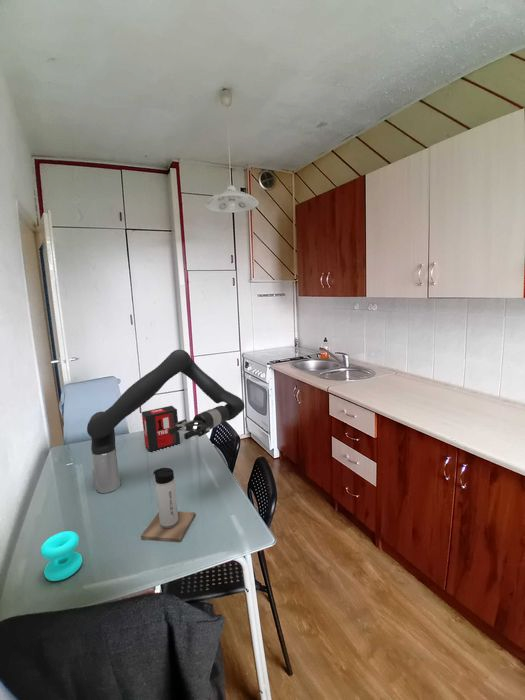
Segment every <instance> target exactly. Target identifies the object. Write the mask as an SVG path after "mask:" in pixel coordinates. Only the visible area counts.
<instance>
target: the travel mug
mask: <svg viewBox="0 0 525 700" xmlns="http://www.w3.org/2000/svg"><path fill="white" fill-rule="evenodd" d="M153 474H154V479H155V480H154V482H155V490H156V500H157V509H158V512H159V519H160V526H161V527H162V528H165V529H168V528H172V527H174V526H175V525H177V523H178V512H179V511H178V503H177V494H176V484H175V476H174V470H173V469H172V468H169V467H160V468H158V469H155V470H153ZM177 511H178V512H177Z"/></svg>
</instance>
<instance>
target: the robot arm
mask: <svg viewBox="0 0 525 700" xmlns="http://www.w3.org/2000/svg"><path fill="white" fill-rule="evenodd" d="M180 373H182V374H183V375H185V376H187V378H189V379H190V380H191V381H192V382H193V383H194V384H196V385H197V387H198V388H199V389H200V390H201V391H202V392H203V393H204V394H205V395H206V396H207V397H208V398H209V399H211V400H212V401H213V402H214V403H215V404H220V403H225V404H224V405H217V406H216V407H212V408H211V409H207V410H205V411H202V412H200V413H197V414H195V416H194V417H193V419H192V420H189V421H187V419H182V420H180V421H179V420H178V422H177V423H174V427H173V428H170V429H169V430H168V432H169V435H172V434H174V433H176V432H179V433H180V432H182V433H184V434H183V437H184V439H185V440H188V439H191V438H192V437H199V438H200V437H203V436H204V435H206V434H207V433H209V432H210V430H212V429H214V428H216V427H218V426H219V425H221V424H222V423H224V422H227V421H229V422H230V421H231V420H234V419H235V418H236V417H237V416H239V414H241V413H242V412H243V411H244V409H245V408H246V407H245V402H244V401H243V400H242V398H241V397H240V396H238V395H235V394H234V393H232V392H230V391H228V390H226V389H225V388H224V387H223V386H222V385H220V384H219V383H218V382H217V381H216V380H215V379H213V378H212V377H211V376H210V375H208V373H206V372H204V370H202V369H201V368H200V367H199V365H198V364H196V362H195V361H194V360H193V358H192V357H191V355H190V354H189V353H188V352H187V351H186V350H184V349H175V350H173V351H172V352H171V353H170V354H169V355H168V356H167V357H166V358H165V359H164V360H163V361H162V362H161V363H159V365H158V366H156V367H155V368H154V369H153V370H151V371H150V372H148V373H146V374H145V375H143V376H142V377H141V378H139V379H138V380H137V381H135V382H134V383H133V384H132V385H130V386H129V387H128V388H127V389H126V390H125V391H124V392H123V393H122V394H121V395H120V397H119V398H117V400H116V401H114V403H113V404H112V405H111V406H110V407H108V408H107V409H106V410H105V411H98V412H96V413H94V414H92V416H91V417H90V418H89V421H88V423H87V426H86V427H87V428H86V432H87V434H88V436H89V437H90V438H91V444H90V445H91V447H90V448H91V449H90V450H91V455H92V463H93V468H92V470H91V471H92V479H93V484H94V491H95V490H97V491H96V492H98V493H99V492H100V494H109V493H111V492H115V491H116V490H118V489H119V488H120V486H121V480H120V471H119V465H118V464H119V463H118V458H117V450H116V432H115V428H116V427H117V426H118V425H119V424H120V423H121V422H123V420H124V419H126V418H127V417H128V416H130V415H131V414H133V412H136V410H138V409H139V408H141V407H142V406H143V405H145V403H147V402H149V400H150V399H152V397H154V396H155V395H156V394H157V393H158V392H159V391H160V390H161V388H163V386H164V385H165V384H166V383H167V382H169V380H171V378H174V377H175V376H176V375H177V374H180Z"/></svg>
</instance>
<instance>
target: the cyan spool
mask: <svg viewBox="0 0 525 700" xmlns="http://www.w3.org/2000/svg"><path fill="white" fill-rule="evenodd" d="M79 542H80V537H79V534H78V533H76V532H75V531H71V530H66V531H61V532H58V533H55V534H54V535H52V536H50V537H48V539H46V540H45V542H43V544H42V545H41V548H40V555H41V557H42V558H44V559H45V560H49V561H48V563H47V564H46V566H45V568H44V572H43V575H44V577H45V578H46V579H47V580H48V581H50V582H51V581H53V582H57V581H63V580H65V579H68V578H69V577H71V576H73V575H74V574H75V573H77V571H78V570H79V569H80V568H81V566H82V563H83V556H82V555H81V554H80V552H78V551H76V550H75V549H76V548H77V546H78V545H79ZM74 550H75V551H74Z"/></svg>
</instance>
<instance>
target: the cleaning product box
mask: <svg viewBox="0 0 525 700" xmlns="http://www.w3.org/2000/svg"><path fill="white" fill-rule="evenodd" d="M141 418H142V427H143V436H144V437H143V438H144V445H145V446H146V447H145V446H144V447H145V448H146V450H147V449H148V450H147V452H151V453H154V452H153V451H155V452H158V451H157V450H159V451H161V450H160V449H162V450H165V449H164V448H166V449H168V448H167V447H169V448H172V447H171V446H173V447H175V446H174V445H177V446H179V445H178V444H180V445H181V441H180V439H181V438H180V431H179V432H176V433H174V434H172V435H169V432H168V430H169V429H170V428H173V427H174V423H177V422H179V416H178V409H177V408H176V407H174V406H173V405H168V406H164V407H158V408H155V409H149V410H144V411H141Z"/></svg>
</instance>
